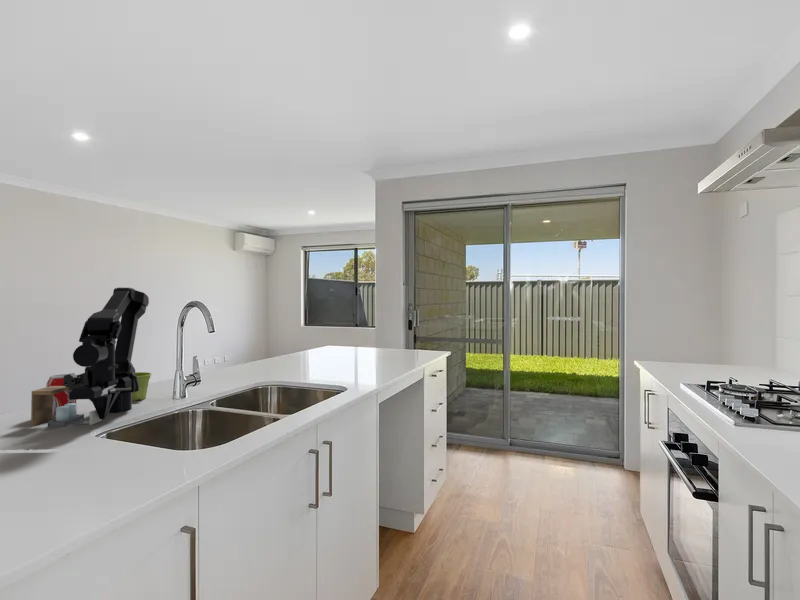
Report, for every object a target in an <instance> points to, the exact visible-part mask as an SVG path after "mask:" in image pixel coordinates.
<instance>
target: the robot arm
mask: <svg viewBox="0 0 800 600" xmlns="http://www.w3.org/2000/svg"><path fill="white" fill-rule="evenodd" d="M149 299H150V298H149V296H148V295H147V294H146V293H145V292H143V291H140V290H139V291H138V290H136V289H135V288H132V287H115V288H114V289H113V293H112V294H111V296H110V298H109V299H108V301H106V304H105V305H104V306H103V308H102V310H99V311H97V312H94V313H92V314H91V315H90V316H88V318H87V319H86V321H85V322H84V324H83V327H82V330H81V334H80V336H79V338H78V339H79V340H78V342H79V343H81V345H79V346H78V347H76V348H75V349H74V352H73V353H72V359H73V361H74V363H75V364H76V365H78V366H79V367H84V372H83V373H80V374H76V373H74V372H71V373H68V374H67V375H65V376H64V380H63V386H65V387H68V388H69V390H70V391H69V400H76V401H77V400H89V401H90V402H91V403H92V404H93V407H94V409H95V410H96V411H97V414H98V416H99V419H102V420H104V419H106V418H107V417H108V414H119V413H123V412H124V413H125V412H127V411H128V412H129V411H131V410H133V401H132V392H136V391H139V381H138V378H137V376H136V373H135V372H136V368H135V367H134V364H133V363H132V358H133V357H132V356H133V352H134V345H135V339H136V334H137V327H138V322H139V319H140V318H141V317H143V316H144V314H145V313H146V310H147V307H148V306H149V303H150V301H149ZM130 387H131V388H130Z"/></svg>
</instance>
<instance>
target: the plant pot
mask: <svg viewBox="0 0 800 600" xmlns="http://www.w3.org/2000/svg"><path fill="white" fill-rule="evenodd" d="M135 373H136V376H137V378H138V381H139V391H136V392H132V402H135V401H138V400H142V401H143V400H145V399H146V398H147V393H148V387H149V382H150V379H151V375H152V374H153V373H152V372H146V371H143V372H141V371H137V372H136V371H135ZM130 388H131V387H130Z"/></svg>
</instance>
